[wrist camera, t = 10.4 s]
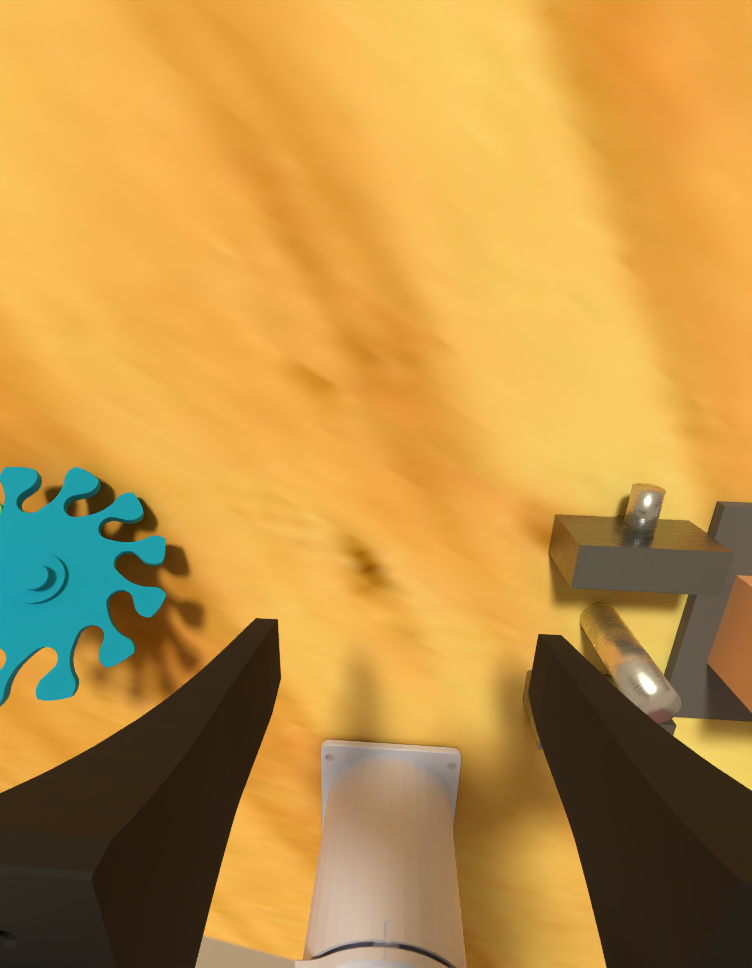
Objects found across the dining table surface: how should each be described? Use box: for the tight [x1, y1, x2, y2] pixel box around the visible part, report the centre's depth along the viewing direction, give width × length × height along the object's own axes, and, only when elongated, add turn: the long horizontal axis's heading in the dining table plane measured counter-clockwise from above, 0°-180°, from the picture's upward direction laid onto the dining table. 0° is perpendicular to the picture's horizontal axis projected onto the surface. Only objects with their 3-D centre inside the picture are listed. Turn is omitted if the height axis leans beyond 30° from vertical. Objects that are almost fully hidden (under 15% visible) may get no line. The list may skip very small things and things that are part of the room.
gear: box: [0, 467, 166, 706], centre depth 21 cm, size 11×6×10 cm
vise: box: [523, 483, 734, 749], centre depth 20 cm, size 13×6×6 cm, turn 178°
